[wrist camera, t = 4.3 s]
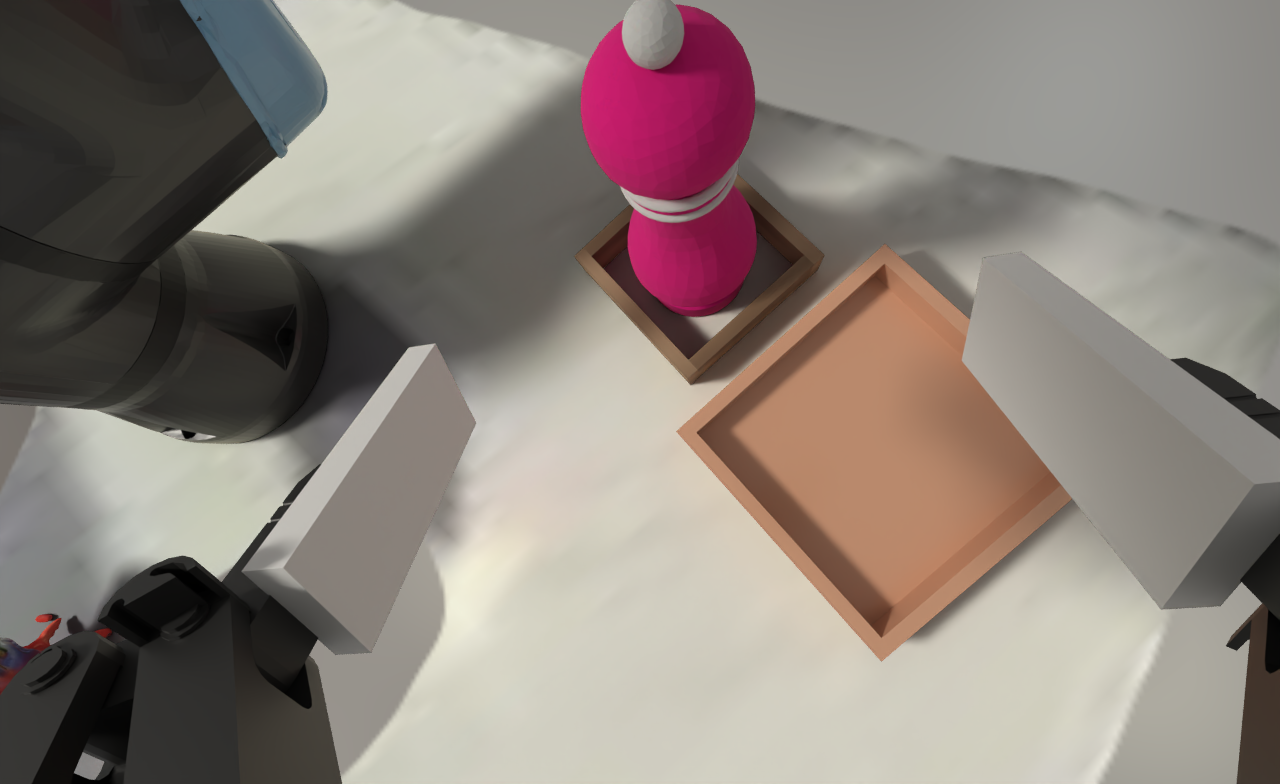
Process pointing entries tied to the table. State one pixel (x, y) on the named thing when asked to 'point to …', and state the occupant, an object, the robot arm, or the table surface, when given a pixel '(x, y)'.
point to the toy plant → (27, 650)
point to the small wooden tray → (803, 267)
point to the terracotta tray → (877, 453)
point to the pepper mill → (676, 149)
